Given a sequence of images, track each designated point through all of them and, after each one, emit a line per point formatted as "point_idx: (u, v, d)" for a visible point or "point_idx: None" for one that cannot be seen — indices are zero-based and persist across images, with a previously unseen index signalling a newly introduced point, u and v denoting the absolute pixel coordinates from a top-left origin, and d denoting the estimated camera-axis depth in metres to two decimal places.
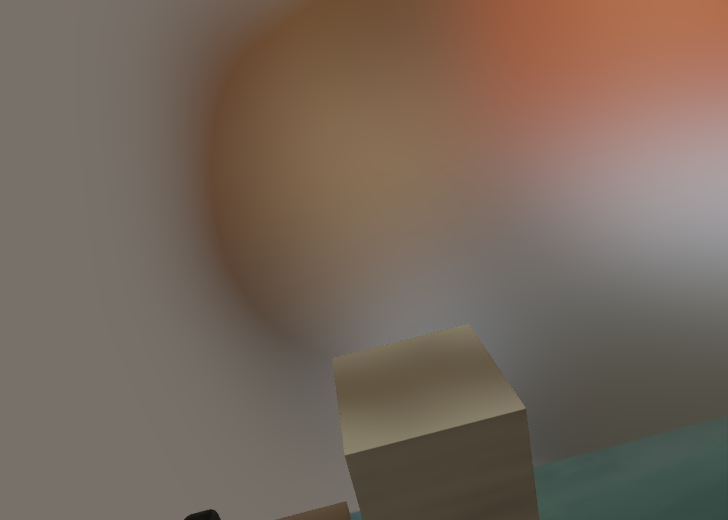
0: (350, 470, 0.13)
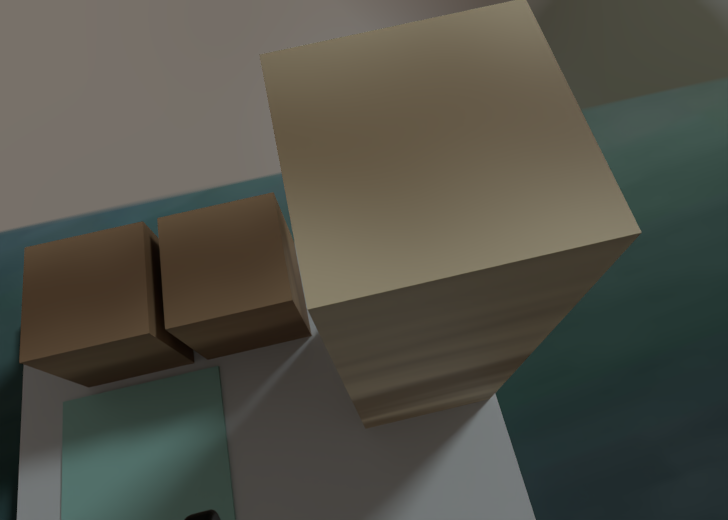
0: (315, 320, 0.07)
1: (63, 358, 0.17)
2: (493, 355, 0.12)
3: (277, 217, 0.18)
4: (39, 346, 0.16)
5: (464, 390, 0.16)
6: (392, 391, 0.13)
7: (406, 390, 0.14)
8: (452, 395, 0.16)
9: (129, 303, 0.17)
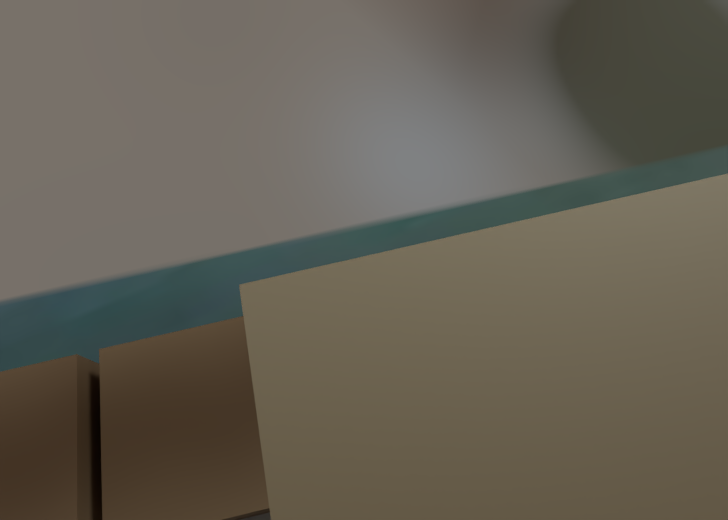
0: None
1: None
2: None
3: None
4: None
5: None
6: None
7: None
8: None
9: (48, 498, 0.11)
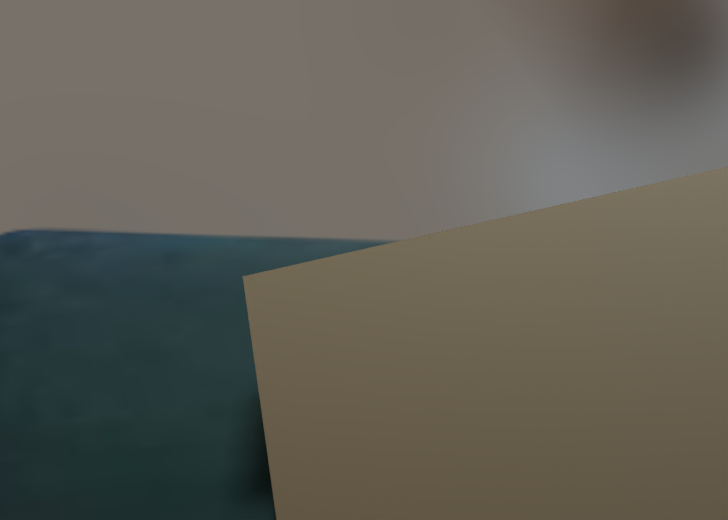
0: None
1: None
2: None
3: None
4: None
5: None
6: None
7: None
8: None
9: None
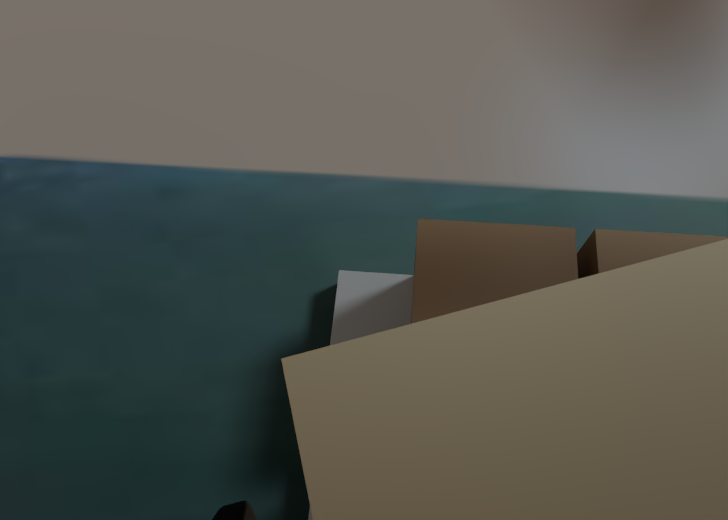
0: None
1: None
2: None
3: None
4: None
5: None
6: None
7: None
8: None
9: None
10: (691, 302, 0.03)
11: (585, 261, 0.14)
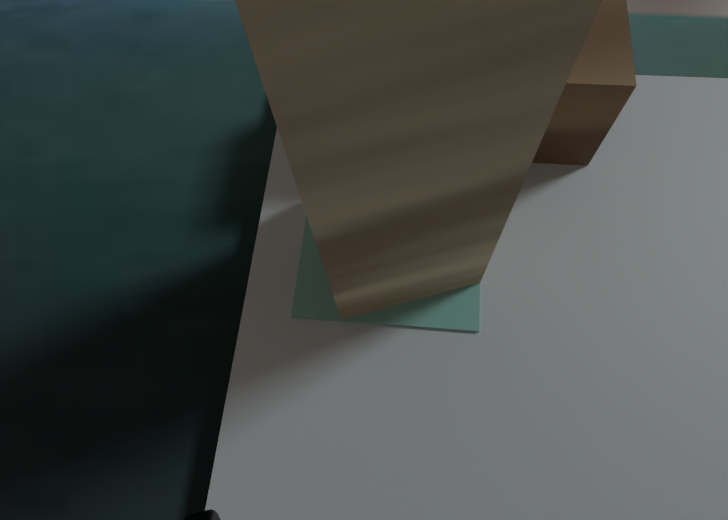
0: None
1: None
2: (483, 162, 0.10)
3: (625, 4, 0.16)
4: None
5: (450, 252, 0.14)
6: (363, 228, 0.11)
7: (380, 230, 0.11)
8: (437, 260, 0.14)
9: None
10: None
11: None
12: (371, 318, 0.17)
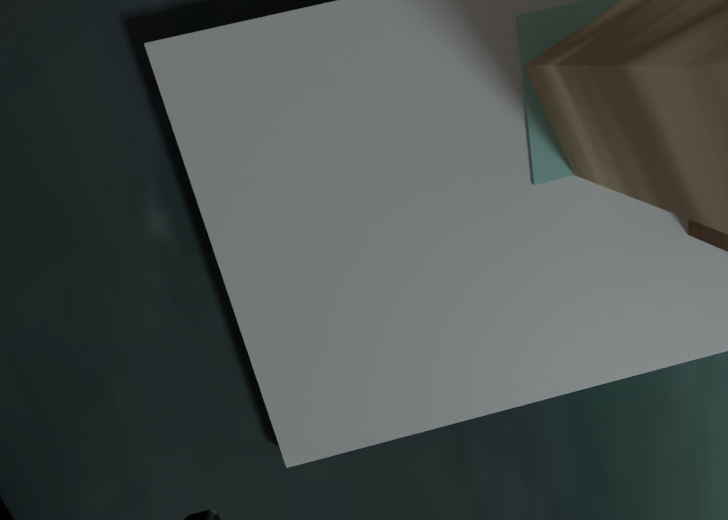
0: None
1: None
2: (712, 197, 0.13)
3: None
4: None
5: (611, 160, 0.16)
6: (640, 104, 0.13)
7: (637, 116, 0.13)
8: (601, 149, 0.16)
9: None
10: None
11: None
12: (529, 92, 0.18)
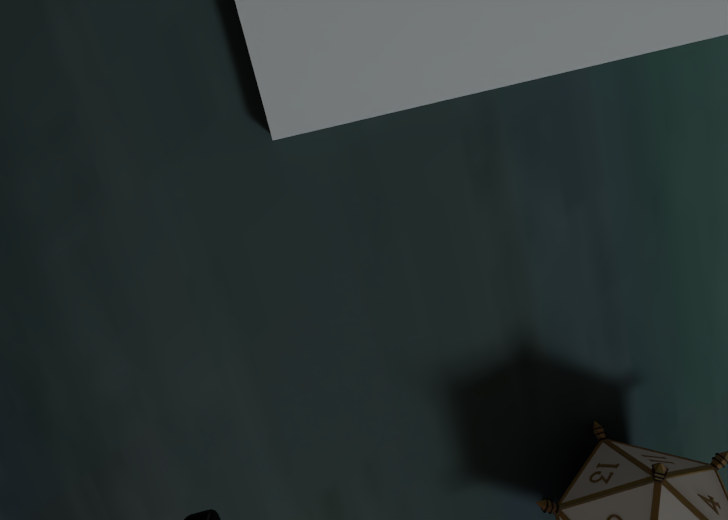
0: None
1: None
2: None
3: None
4: None
5: None
6: None
7: None
8: None
9: None
10: None
11: None
12: None
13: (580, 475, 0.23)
